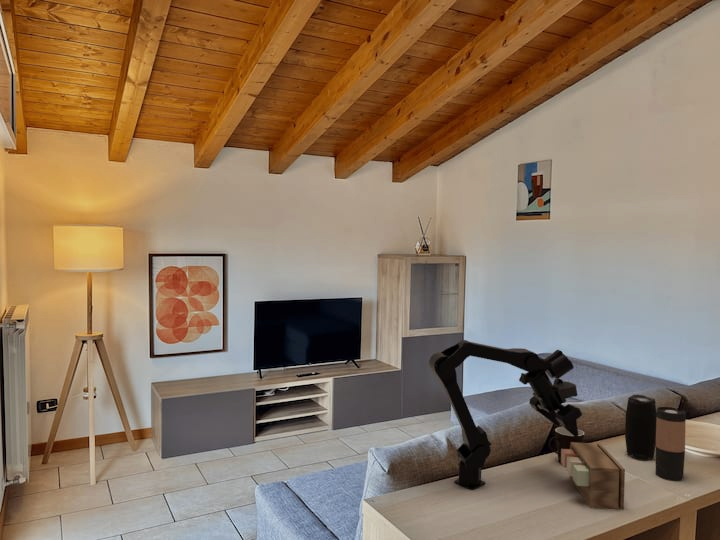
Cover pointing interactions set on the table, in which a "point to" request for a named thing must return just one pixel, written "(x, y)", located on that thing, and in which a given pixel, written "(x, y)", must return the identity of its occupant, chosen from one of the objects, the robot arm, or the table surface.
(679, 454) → the travel mug
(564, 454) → the key terracotta
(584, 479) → the key sage
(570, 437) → the coffee mug
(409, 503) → the table surface
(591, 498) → the key panel
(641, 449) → the portable speaker
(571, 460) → the key cream
